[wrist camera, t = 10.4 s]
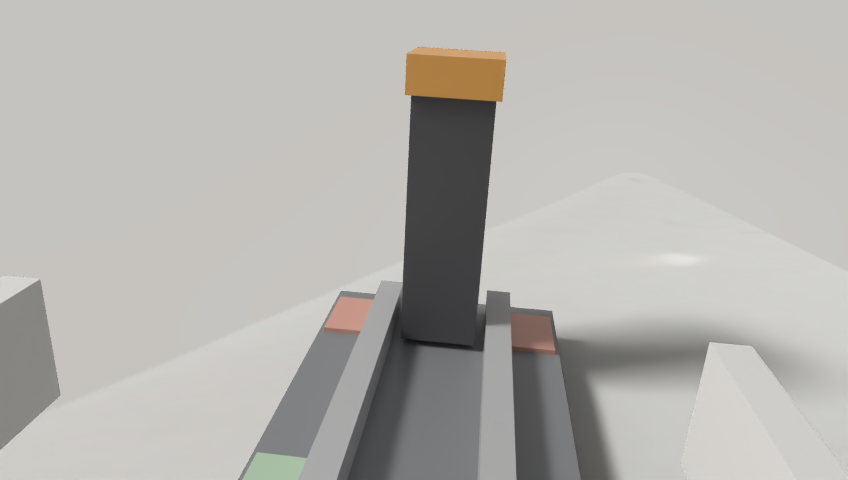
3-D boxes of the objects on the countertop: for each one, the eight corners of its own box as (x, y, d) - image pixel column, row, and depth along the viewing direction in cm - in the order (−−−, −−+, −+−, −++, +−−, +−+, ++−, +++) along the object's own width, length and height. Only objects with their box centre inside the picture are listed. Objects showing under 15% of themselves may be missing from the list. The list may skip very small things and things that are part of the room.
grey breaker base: (548, 339, 30) (555, 287, 29) (594, 664, 16) (612, 581, 15) (340, 318, 31) (341, 267, 30) (196, 608, 16) (188, 526, 15)
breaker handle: (480, 310, 29) (505, 52, 25) (478, 348, 26) (506, 60, 22) (406, 303, 29) (418, 46, 25) (394, 340, 26) (406, 53, 22)
